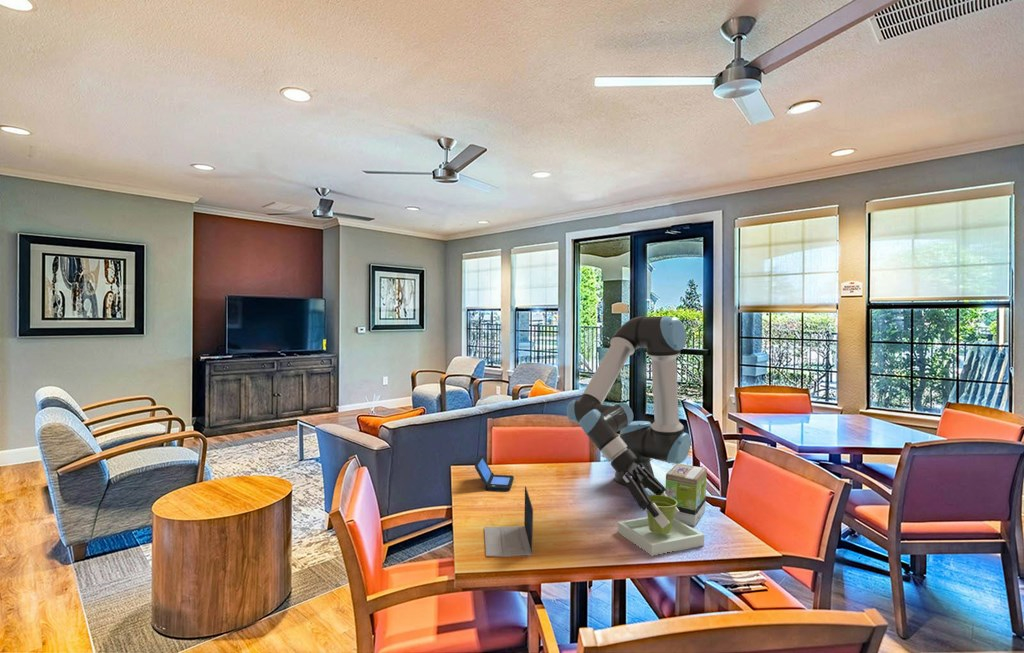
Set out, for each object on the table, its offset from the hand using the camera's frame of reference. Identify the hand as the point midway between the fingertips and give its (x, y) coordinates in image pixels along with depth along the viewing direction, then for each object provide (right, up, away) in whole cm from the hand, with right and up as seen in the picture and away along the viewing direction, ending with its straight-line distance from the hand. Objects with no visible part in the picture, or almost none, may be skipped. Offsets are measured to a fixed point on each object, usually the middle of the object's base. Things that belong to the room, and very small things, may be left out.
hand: (671, 519), depth 142 cm
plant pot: (-3, -4, +2) cm, 5 cm away
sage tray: (-3, -6, +2) cm, 7 cm away
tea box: (+11, -6, +19) cm, 23 cm away
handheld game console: (-52, -5, +47) cm, 70 cm away
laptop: (-47, -6, -1) cm, 47 cm away
